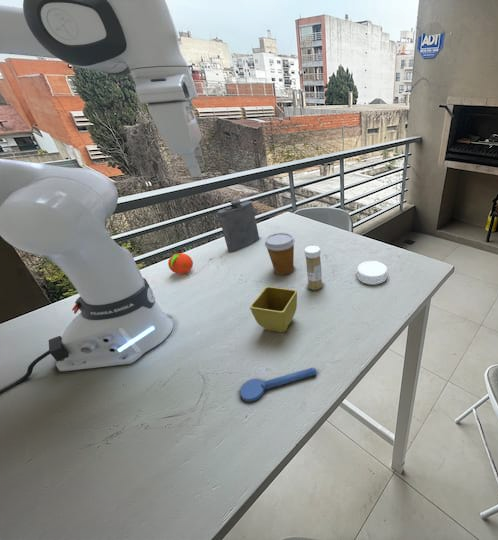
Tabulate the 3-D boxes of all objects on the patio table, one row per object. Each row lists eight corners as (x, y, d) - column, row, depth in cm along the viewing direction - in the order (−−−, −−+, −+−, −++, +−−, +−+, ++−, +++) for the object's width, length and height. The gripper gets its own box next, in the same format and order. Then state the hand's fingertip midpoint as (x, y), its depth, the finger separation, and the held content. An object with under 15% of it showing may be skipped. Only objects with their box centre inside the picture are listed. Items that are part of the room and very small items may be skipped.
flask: (262, 239, 117) (254, 196, 107) (232, 253, 107) (220, 207, 97) (256, 236, 119) (247, 194, 109) (226, 250, 108) (214, 205, 99)
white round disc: (380, 266, 100) (380, 258, 98) (391, 282, 92) (392, 273, 90) (353, 271, 97) (353, 262, 95) (362, 287, 89) (362, 278, 87)
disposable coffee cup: (302, 272, 96) (299, 240, 90) (275, 280, 92) (269, 248, 85) (291, 260, 103) (287, 229, 97) (265, 267, 98) (259, 236, 92)
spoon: (241, 404, 56) (239, 400, 55) (241, 385, 59) (239, 380, 59) (318, 381, 61) (318, 376, 60) (314, 364, 64) (313, 360, 63)
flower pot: (287, 339, 70) (283, 312, 66) (255, 334, 72) (248, 307, 67) (301, 316, 78) (297, 290, 73) (271, 311, 79) (266, 285, 74)
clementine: (187, 280, 91) (179, 261, 88) (165, 279, 92) (157, 260, 88) (199, 267, 98) (193, 249, 94) (179, 266, 98) (172, 248, 94)
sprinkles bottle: (305, 285, 90) (301, 248, 82) (317, 280, 92) (314, 243, 85) (313, 292, 87) (310, 254, 80) (325, 286, 90) (323, 249, 82)
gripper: (159, 91, 57) (187, 163, 65) (131, 90, 41) (174, 185, 48) (193, 88, 59) (217, 158, 66) (179, 86, 42) (213, 179, 50)
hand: (198, 170), depth 57 cm, fingers open, 8 cm apart
